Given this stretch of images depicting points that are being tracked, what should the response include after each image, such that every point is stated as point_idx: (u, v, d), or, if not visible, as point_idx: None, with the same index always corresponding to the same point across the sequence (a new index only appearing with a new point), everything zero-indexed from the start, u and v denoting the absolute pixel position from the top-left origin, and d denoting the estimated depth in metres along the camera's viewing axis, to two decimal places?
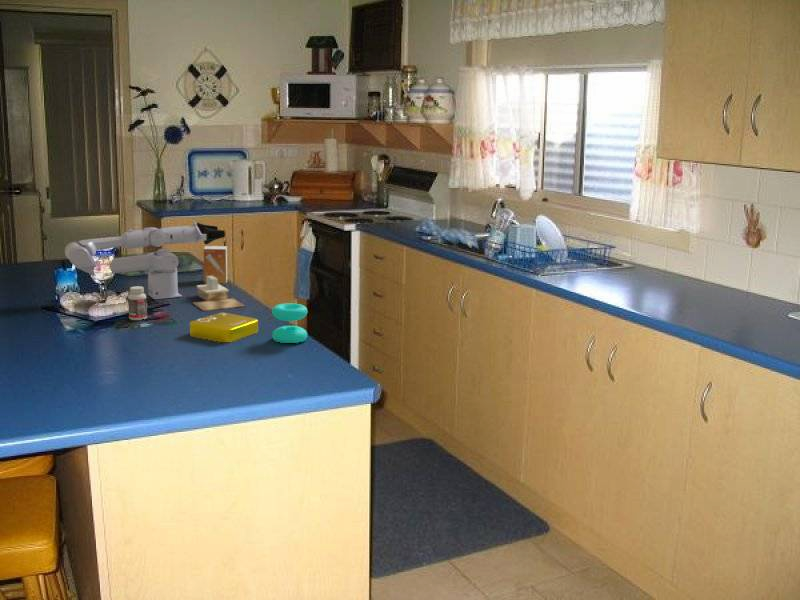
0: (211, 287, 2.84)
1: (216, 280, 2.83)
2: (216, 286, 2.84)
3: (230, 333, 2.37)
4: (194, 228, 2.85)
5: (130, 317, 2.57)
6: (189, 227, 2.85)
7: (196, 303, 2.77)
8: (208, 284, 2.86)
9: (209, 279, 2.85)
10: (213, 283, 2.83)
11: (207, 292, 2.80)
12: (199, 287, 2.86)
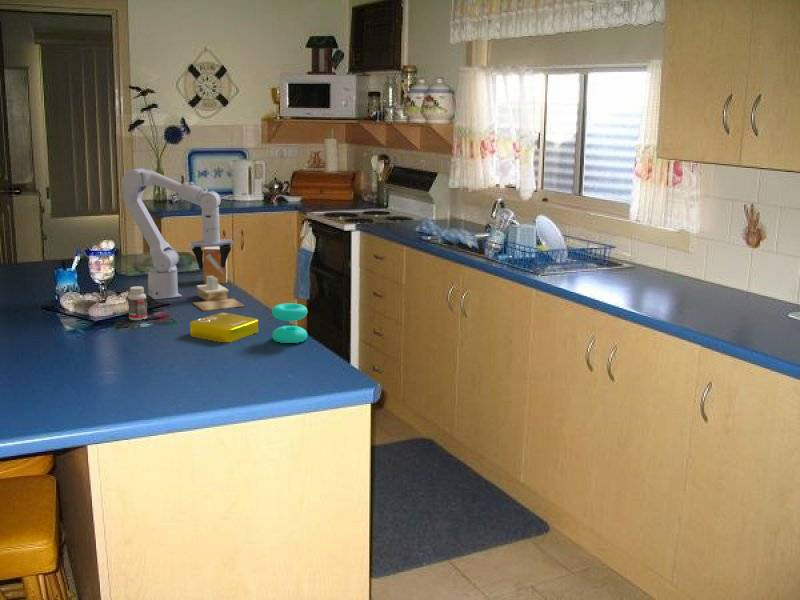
0: (211, 287, 2.84)
1: (216, 280, 2.83)
2: (216, 286, 2.84)
3: (231, 333, 2.37)
4: (208, 241, 2.79)
5: (130, 317, 2.57)
6: (210, 236, 2.79)
7: (196, 303, 2.77)
8: (208, 284, 2.86)
9: (209, 279, 2.85)
10: (213, 283, 2.83)
11: (207, 292, 2.80)
12: (199, 287, 2.86)
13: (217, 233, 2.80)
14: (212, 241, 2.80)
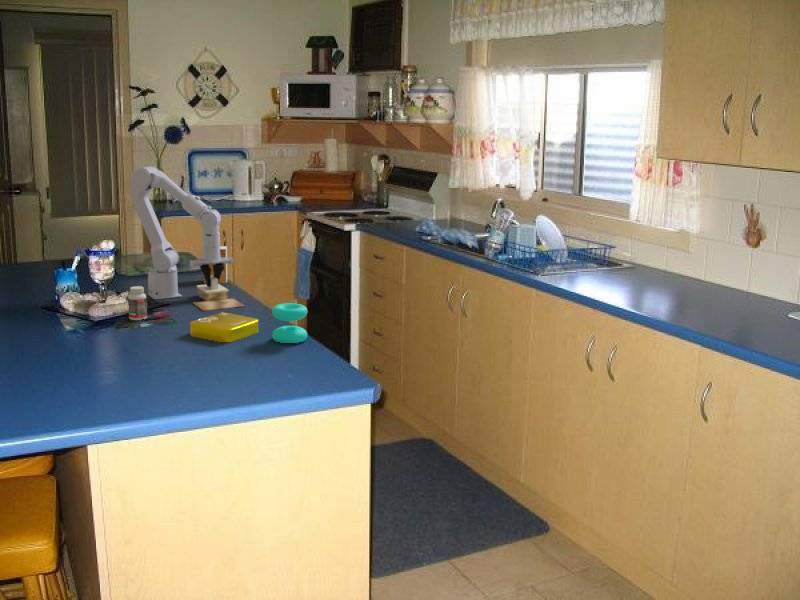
0: (211, 287, 2.84)
1: (216, 280, 2.83)
2: (216, 286, 2.84)
3: (231, 333, 2.37)
4: (208, 259, 2.81)
5: (130, 317, 2.57)
6: (210, 254, 2.81)
7: (196, 303, 2.77)
8: None
9: None
10: (213, 283, 2.83)
11: (207, 292, 2.80)
12: (199, 287, 2.86)
13: (217, 251, 2.82)
14: (212, 259, 2.81)
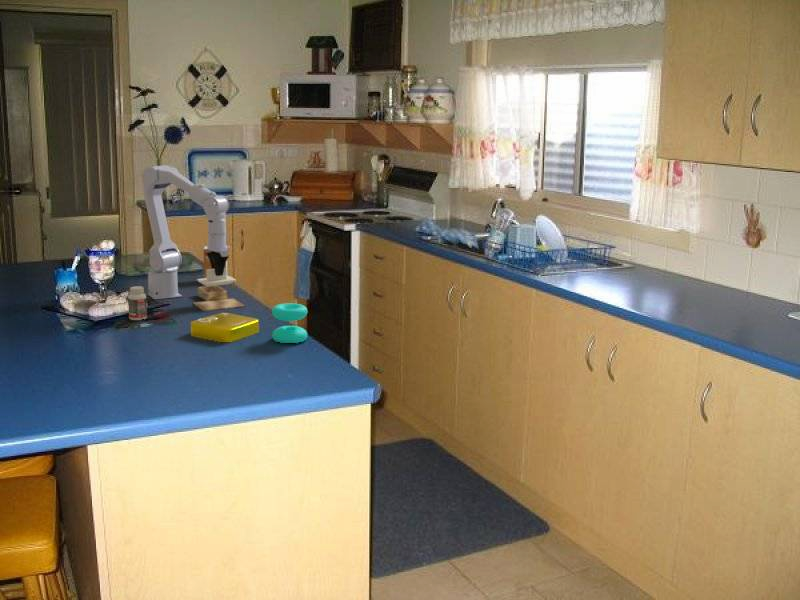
0: (223, 277, 2.75)
1: None
2: None
3: (231, 333, 2.37)
4: (225, 245, 2.72)
5: (130, 317, 2.57)
6: None
7: (196, 303, 2.77)
8: (214, 277, 2.74)
9: None
10: None
11: None
12: (214, 282, 2.71)
13: None
14: None
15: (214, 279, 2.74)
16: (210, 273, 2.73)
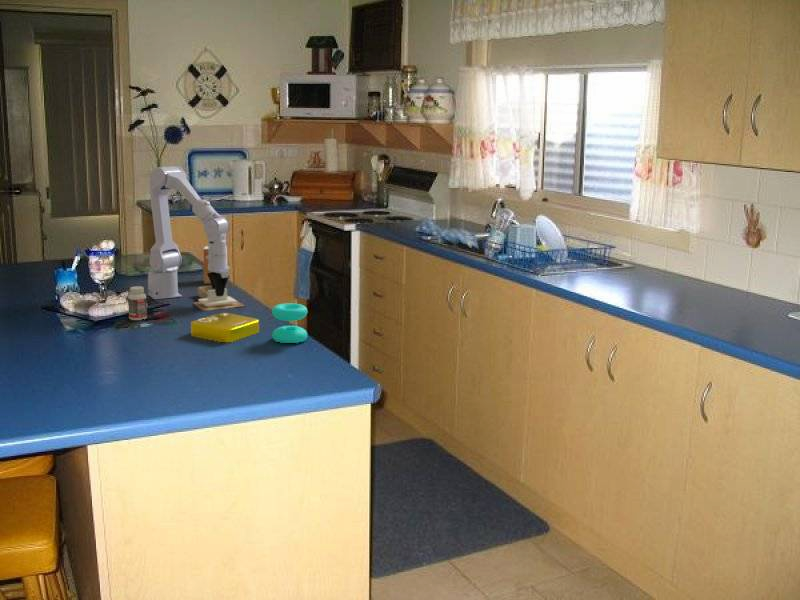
0: (224, 298, 2.77)
1: None
2: None
3: (231, 333, 2.37)
4: (226, 266, 2.74)
5: (130, 317, 2.57)
6: (226, 261, 2.74)
7: (196, 303, 2.77)
8: (215, 298, 2.75)
9: None
10: None
11: (236, 301, 2.77)
12: (215, 303, 2.73)
13: None
14: (226, 266, 2.75)
15: (215, 300, 2.75)
16: (211, 294, 2.74)
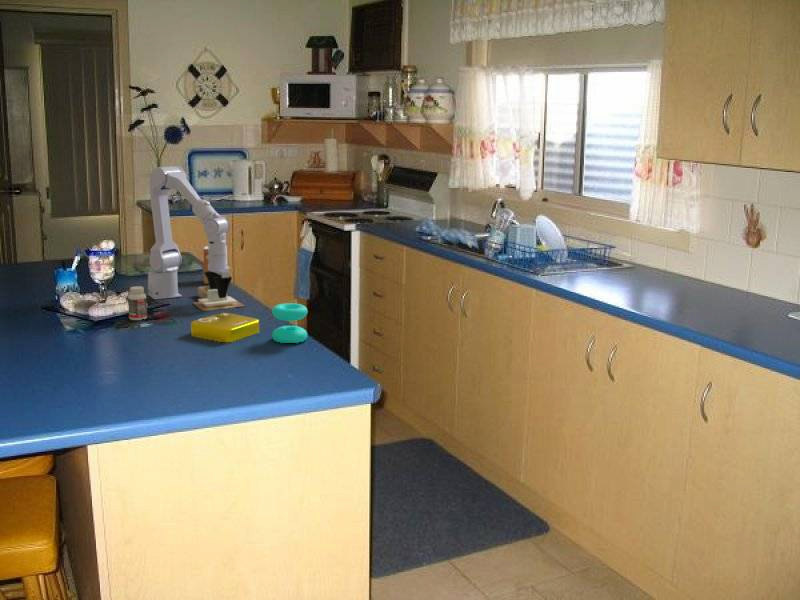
0: (224, 298, 2.77)
1: None
2: None
3: (231, 333, 2.37)
4: (226, 266, 2.74)
5: (130, 317, 2.57)
6: (226, 261, 2.74)
7: (196, 303, 2.77)
8: (215, 298, 2.75)
9: None
10: None
11: (236, 301, 2.77)
12: (215, 303, 2.73)
13: None
14: (226, 266, 2.75)
15: (215, 300, 2.75)
16: (211, 294, 2.74)
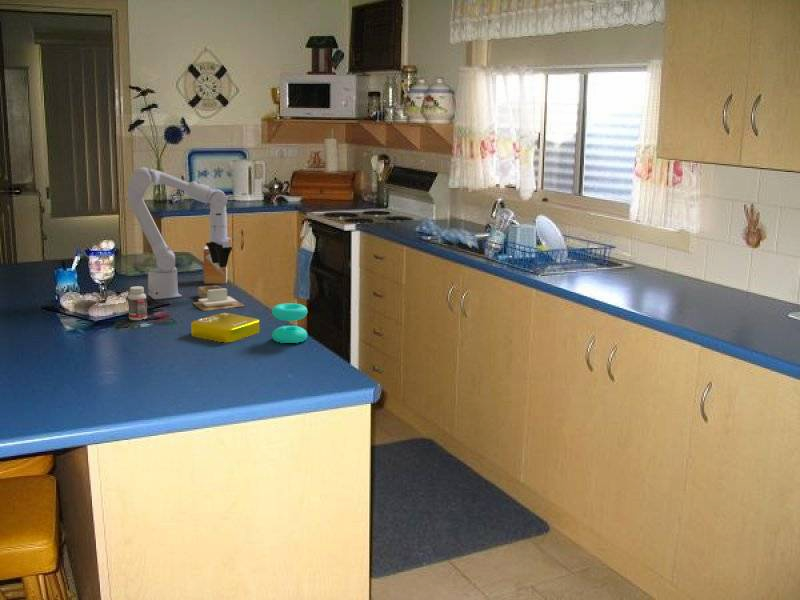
0: (224, 298, 2.77)
1: None
2: None
3: (231, 333, 2.37)
4: (226, 237, 2.87)
5: (130, 317, 2.57)
6: None
7: (196, 303, 2.77)
8: (215, 298, 2.75)
9: (218, 291, 2.75)
10: None
11: (236, 301, 2.77)
12: (215, 303, 2.73)
13: None
14: (227, 237, 2.89)
15: (215, 300, 2.75)
16: (211, 294, 2.74)
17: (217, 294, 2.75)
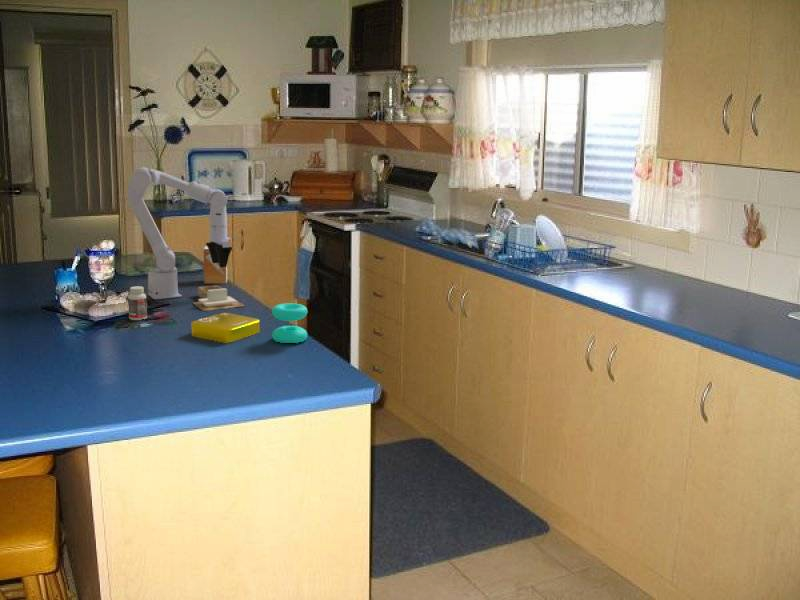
0: (224, 298, 2.77)
1: None
2: None
3: (231, 333, 2.36)
4: (226, 237, 2.87)
5: (130, 317, 2.57)
6: None
7: (196, 303, 2.77)
8: (215, 298, 2.75)
9: (218, 291, 2.75)
10: None
11: (236, 301, 2.77)
12: (215, 303, 2.73)
13: None
14: (227, 237, 2.89)
15: (215, 300, 2.75)
16: (211, 294, 2.74)
17: (217, 294, 2.75)
